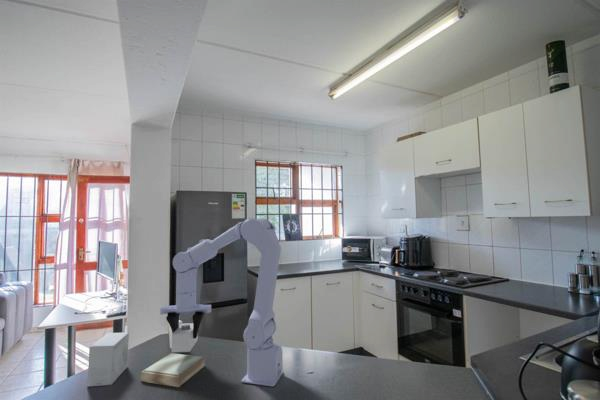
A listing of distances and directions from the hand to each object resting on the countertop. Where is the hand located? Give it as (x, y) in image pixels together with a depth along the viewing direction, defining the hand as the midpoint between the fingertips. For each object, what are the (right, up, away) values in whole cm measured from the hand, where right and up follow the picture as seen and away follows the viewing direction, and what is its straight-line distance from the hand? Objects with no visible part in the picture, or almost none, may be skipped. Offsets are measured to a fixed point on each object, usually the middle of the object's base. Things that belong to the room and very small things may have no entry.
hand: (185, 337), depth 91 cm
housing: (0, -2, 0) cm, 2 cm away
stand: (-2, -8, -4) cm, 9 cm away
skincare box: (-20, -9, -5) cm, 22 cm away
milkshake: (-9, -10, +14) cm, 20 cm away
